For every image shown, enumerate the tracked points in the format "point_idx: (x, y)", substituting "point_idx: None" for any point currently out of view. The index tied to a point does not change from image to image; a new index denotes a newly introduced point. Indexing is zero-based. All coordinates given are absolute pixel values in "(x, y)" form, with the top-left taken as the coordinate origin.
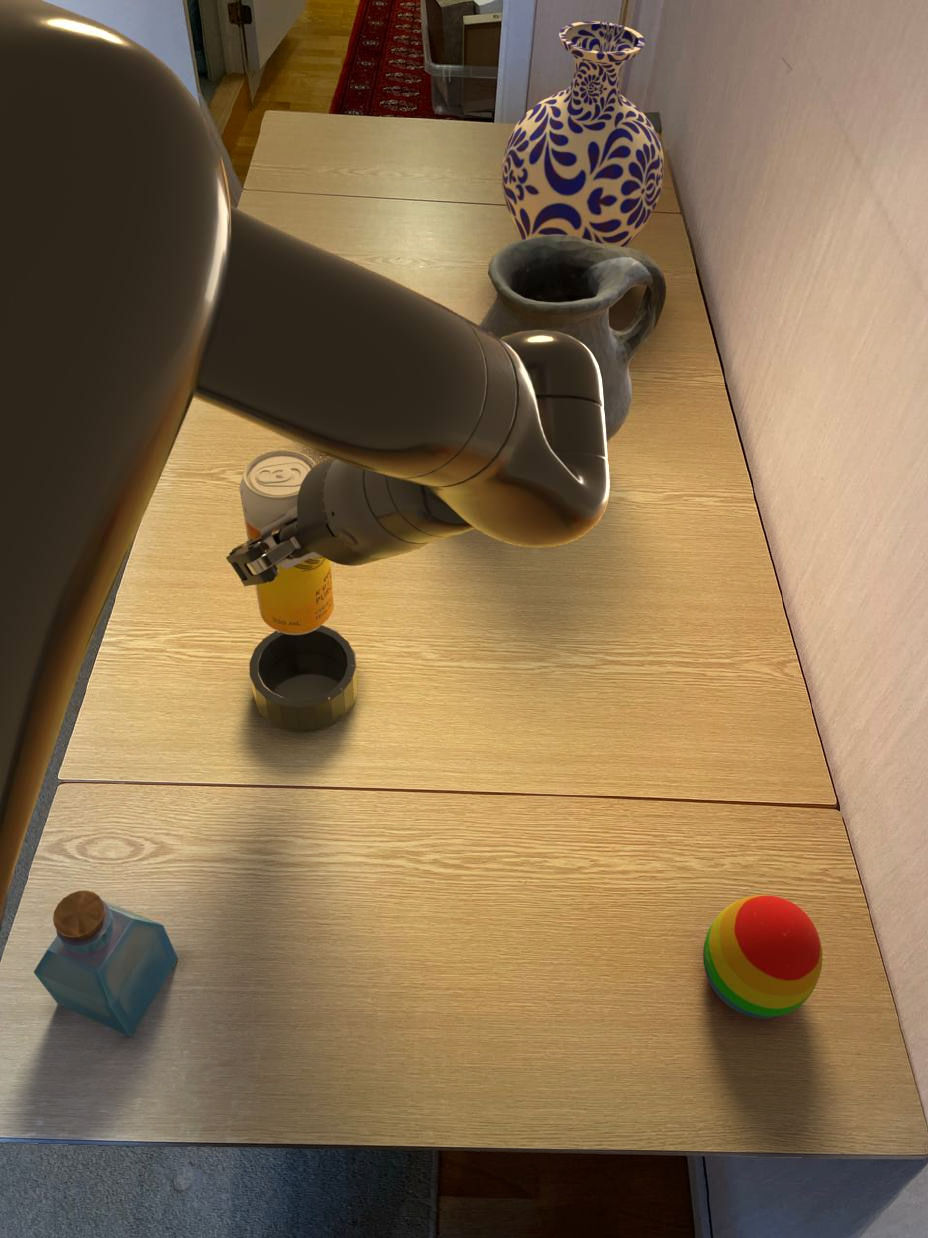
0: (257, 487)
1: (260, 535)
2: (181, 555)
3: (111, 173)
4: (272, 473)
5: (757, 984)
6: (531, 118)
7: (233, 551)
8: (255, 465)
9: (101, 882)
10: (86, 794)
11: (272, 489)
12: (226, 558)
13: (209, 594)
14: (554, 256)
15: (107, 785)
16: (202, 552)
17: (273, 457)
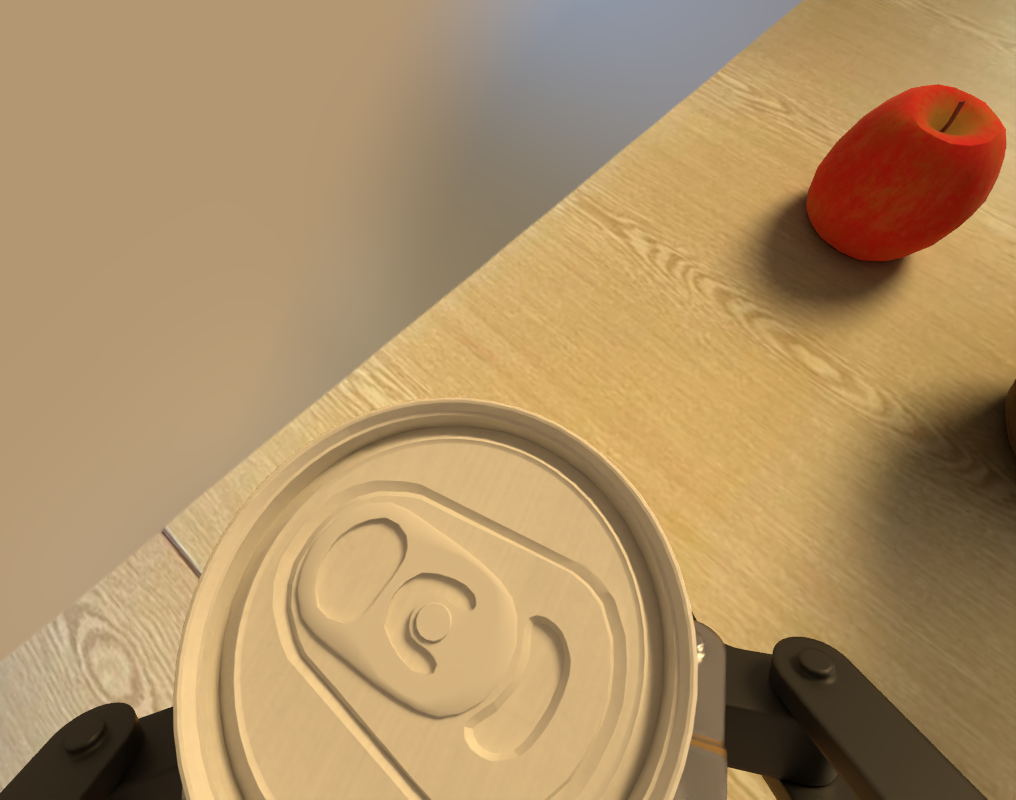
0: (252, 628)
1: None
2: (504, 307)
3: None
4: (407, 582)
5: None
6: None
7: (75, 747)
8: (411, 431)
9: (62, 712)
10: (159, 562)
11: (300, 724)
12: (54, 738)
13: (493, 382)
14: None
15: (186, 569)
16: (529, 318)
17: (512, 454)
